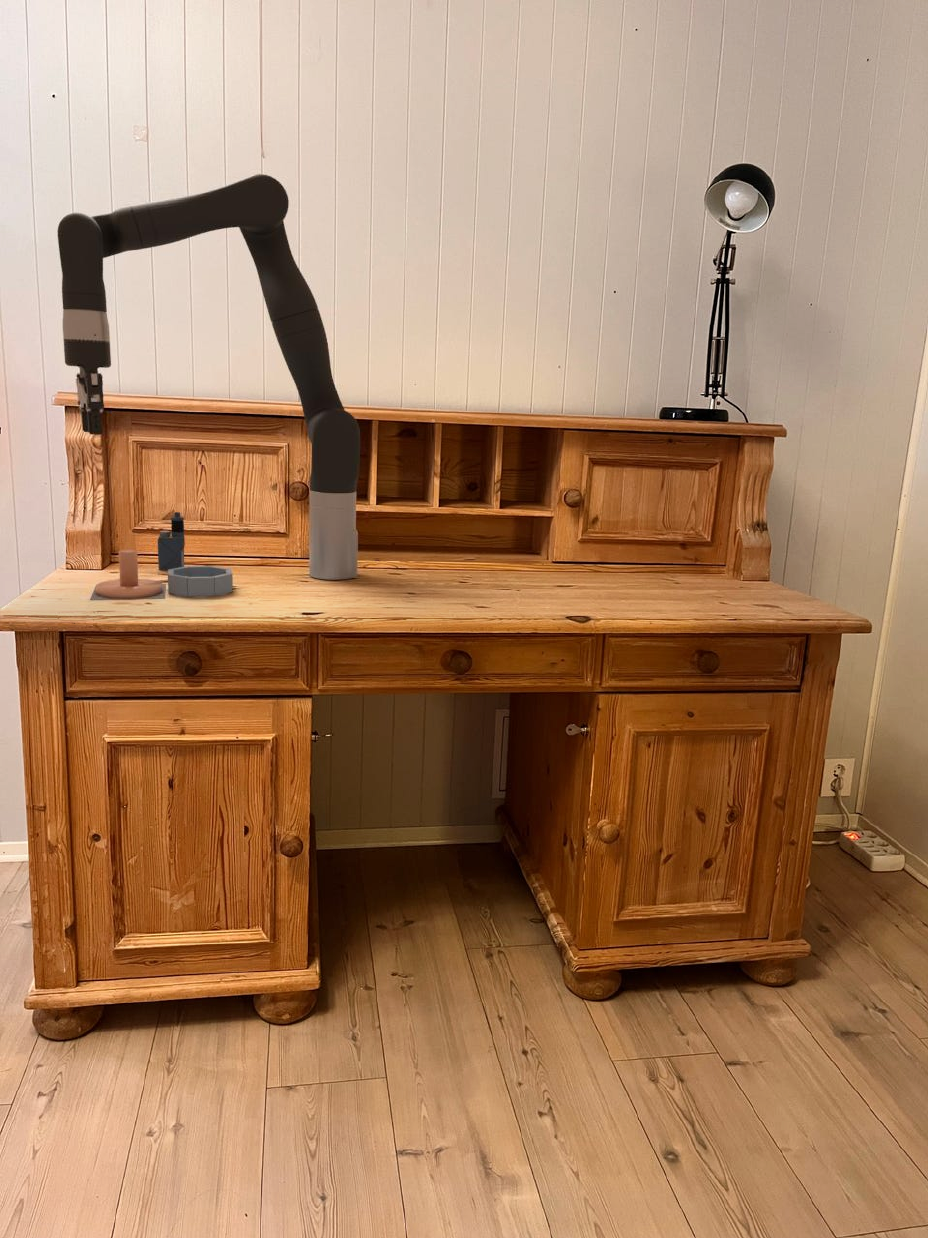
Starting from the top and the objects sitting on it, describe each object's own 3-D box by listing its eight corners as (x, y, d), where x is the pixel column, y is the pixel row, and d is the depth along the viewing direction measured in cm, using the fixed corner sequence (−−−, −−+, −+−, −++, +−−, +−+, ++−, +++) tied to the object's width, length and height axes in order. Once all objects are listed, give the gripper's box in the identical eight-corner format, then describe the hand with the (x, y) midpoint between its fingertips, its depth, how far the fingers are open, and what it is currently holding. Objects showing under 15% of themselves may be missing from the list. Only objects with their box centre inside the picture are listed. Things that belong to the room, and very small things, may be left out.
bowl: (230, 586, 168) (230, 565, 167) (233, 599, 158) (233, 577, 157) (168, 587, 165) (168, 566, 164) (168, 601, 154) (167, 578, 154)
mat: (166, 587, 165) (165, 583, 165) (165, 601, 154) (165, 598, 154) (96, 588, 161) (95, 585, 161) (89, 603, 150) (89, 600, 150)
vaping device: (183, 574, 177) (181, 513, 174) (156, 572, 177) (154, 512, 174) (187, 571, 179) (185, 511, 177) (161, 570, 179) (159, 510, 177)
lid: (163, 584, 164) (161, 545, 162) (162, 597, 154) (160, 556, 152) (98, 585, 161) (96, 546, 159) (93, 599, 151) (90, 557, 149)
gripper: (115, 338, 152) (121, 435, 156) (103, 341, 164) (108, 431, 168) (68, 335, 148) (74, 435, 152) (59, 338, 160) (65, 430, 164)
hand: (92, 433), depth 160 cm, fingers open, 8 cm apart
